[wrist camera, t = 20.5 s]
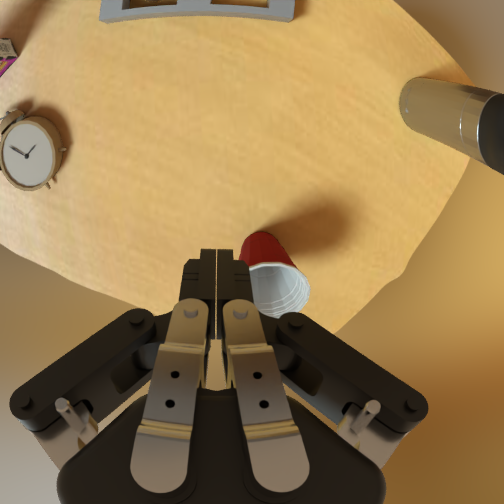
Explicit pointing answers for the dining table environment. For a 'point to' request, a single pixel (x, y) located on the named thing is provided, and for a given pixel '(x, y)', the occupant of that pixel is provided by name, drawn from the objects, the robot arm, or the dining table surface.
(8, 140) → the alarm clock
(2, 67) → the candy bar box
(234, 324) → the robot arm
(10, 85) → the dining table surface
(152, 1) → the white capped cylinder
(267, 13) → the grey slotted holder frame
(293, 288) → the plastic cup
